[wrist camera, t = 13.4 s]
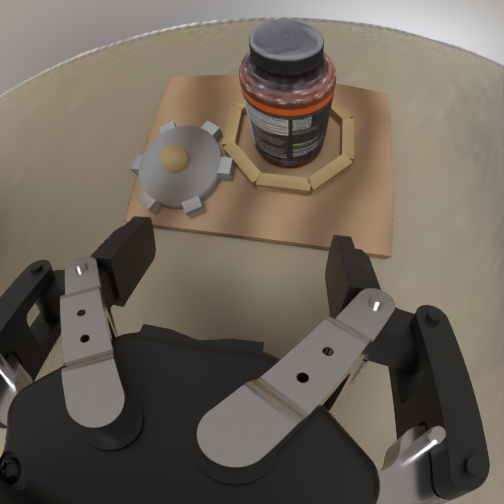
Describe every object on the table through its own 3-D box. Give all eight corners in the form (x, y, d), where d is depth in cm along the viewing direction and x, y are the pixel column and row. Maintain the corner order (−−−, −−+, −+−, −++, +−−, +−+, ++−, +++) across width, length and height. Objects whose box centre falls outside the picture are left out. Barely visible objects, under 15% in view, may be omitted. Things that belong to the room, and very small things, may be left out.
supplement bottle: (286, 100, 24) (284, 0, 13) (337, 139, 23) (365, 40, 12) (238, 139, 24) (208, 40, 12) (289, 184, 22) (292, 89, 11)
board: (131, 224, 25) (107, 212, 21) (174, 84, 27) (162, 60, 23) (386, 258, 22) (405, 250, 18) (384, 100, 24) (394, 76, 20)
